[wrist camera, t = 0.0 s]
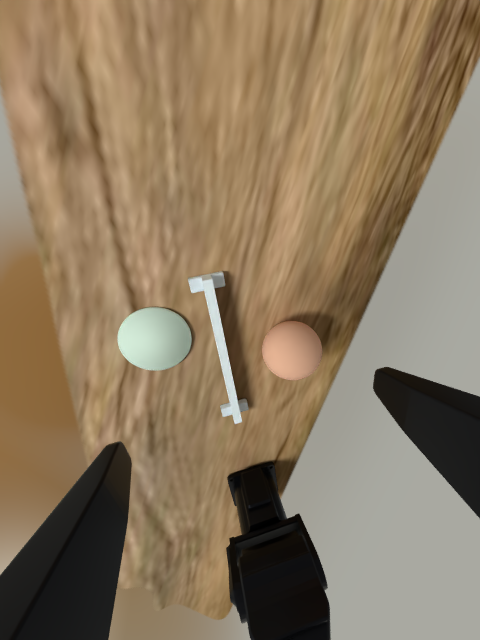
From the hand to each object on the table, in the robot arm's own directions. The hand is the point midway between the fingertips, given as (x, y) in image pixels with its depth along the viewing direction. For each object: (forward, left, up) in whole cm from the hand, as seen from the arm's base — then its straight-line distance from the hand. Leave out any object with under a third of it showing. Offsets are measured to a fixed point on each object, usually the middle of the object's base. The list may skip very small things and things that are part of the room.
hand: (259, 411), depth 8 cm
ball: (-6, -6, -15) cm, 17 cm away
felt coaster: (-3, +6, -15) cm, 16 cm away
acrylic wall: (-6, 0, -15) cm, 16 cm away
